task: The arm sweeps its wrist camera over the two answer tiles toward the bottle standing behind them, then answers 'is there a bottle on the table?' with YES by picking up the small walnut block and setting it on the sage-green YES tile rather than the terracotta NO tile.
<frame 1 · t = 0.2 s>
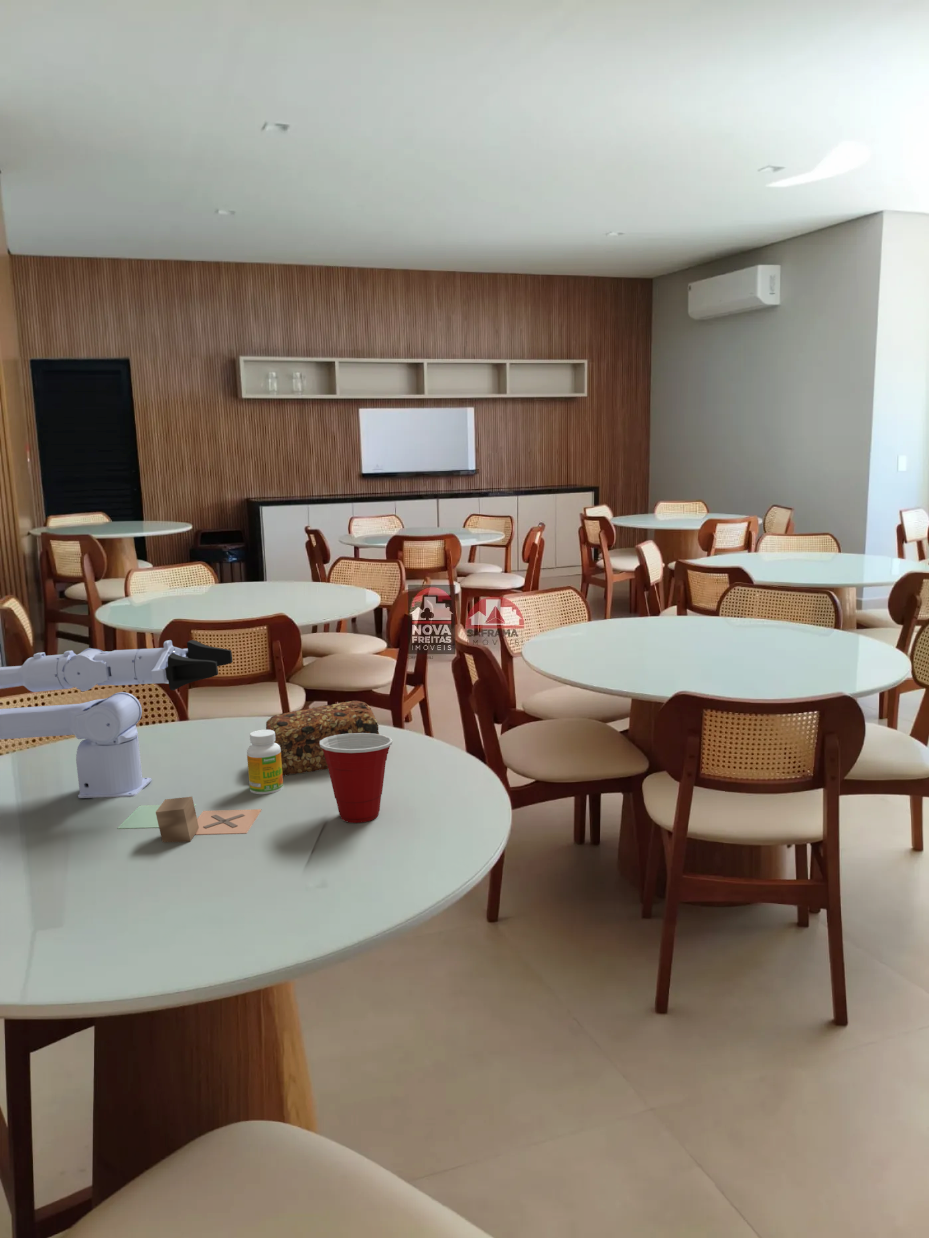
hand: (224, 662, 147), 21 cm above the table, tool horizontal, fingers open, 7 cm apart
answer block: (181, 835, 131), on the table, tilted 7°, touching no tile
plastic cup: (360, 816, 137), on the table
supplement bottle: (266, 791, 149), on the table
no tile: (224, 823, 136), on the table
yes tile: (158, 818, 139), on the table
bread: (324, 763, 163), on the table
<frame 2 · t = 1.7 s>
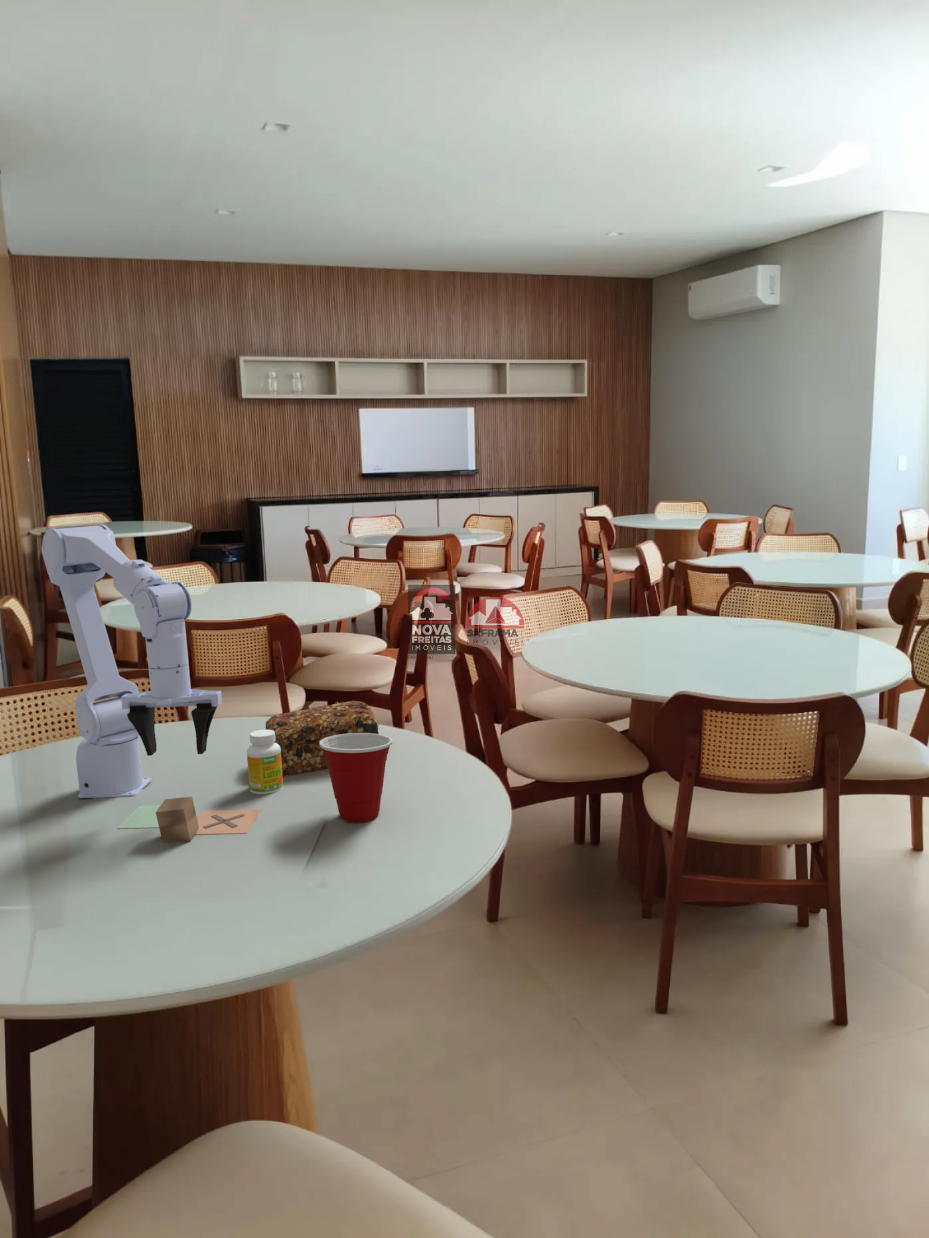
hand: (176, 752, 138), 10 cm above the table, tool pointing down, fingers open, 7 cm apart
nothing on the table moved.
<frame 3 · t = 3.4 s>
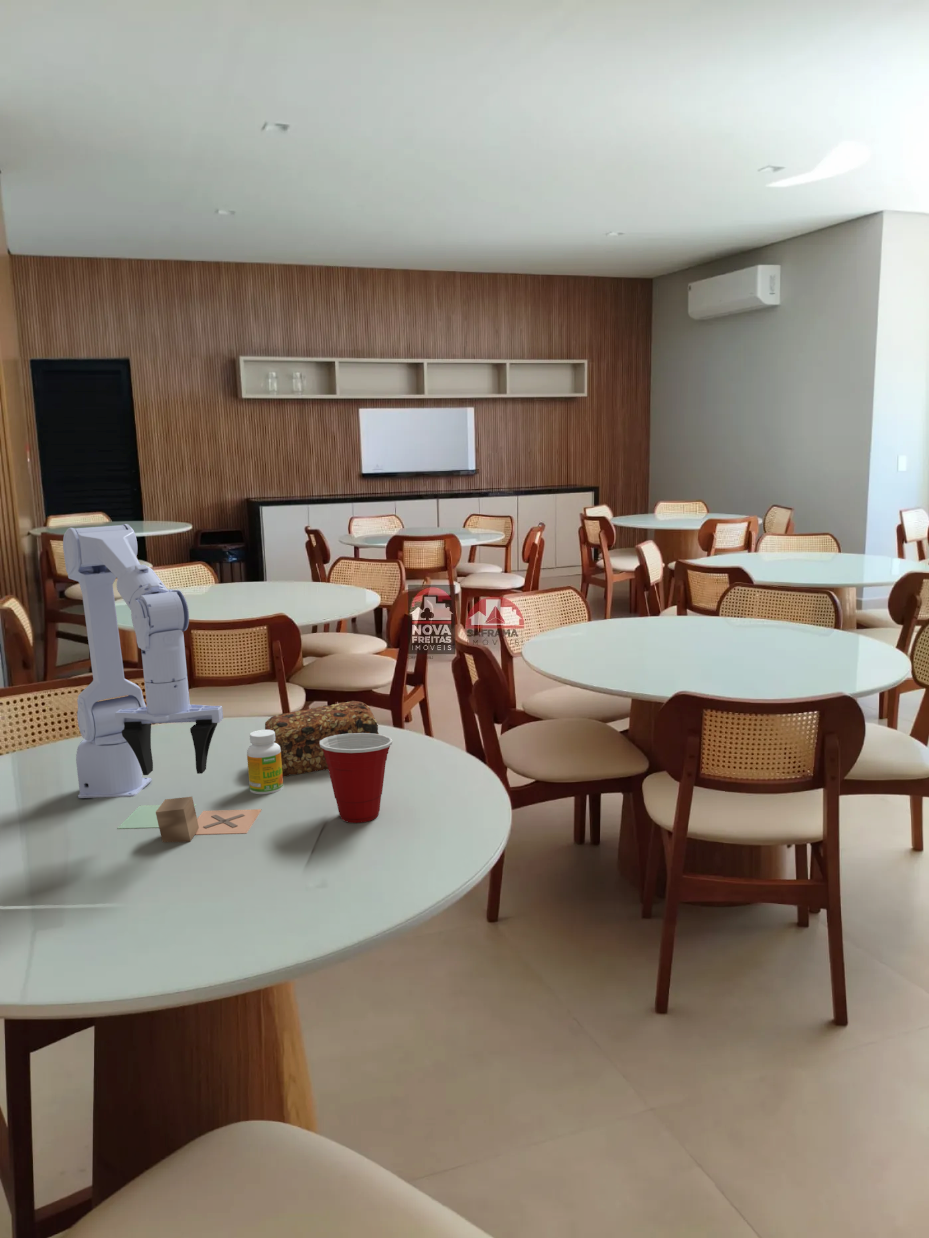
hand: (174, 772, 129), 10 cm above the table, tool pointing down, fingers open, 7 cm apart
nothing on the table moved.
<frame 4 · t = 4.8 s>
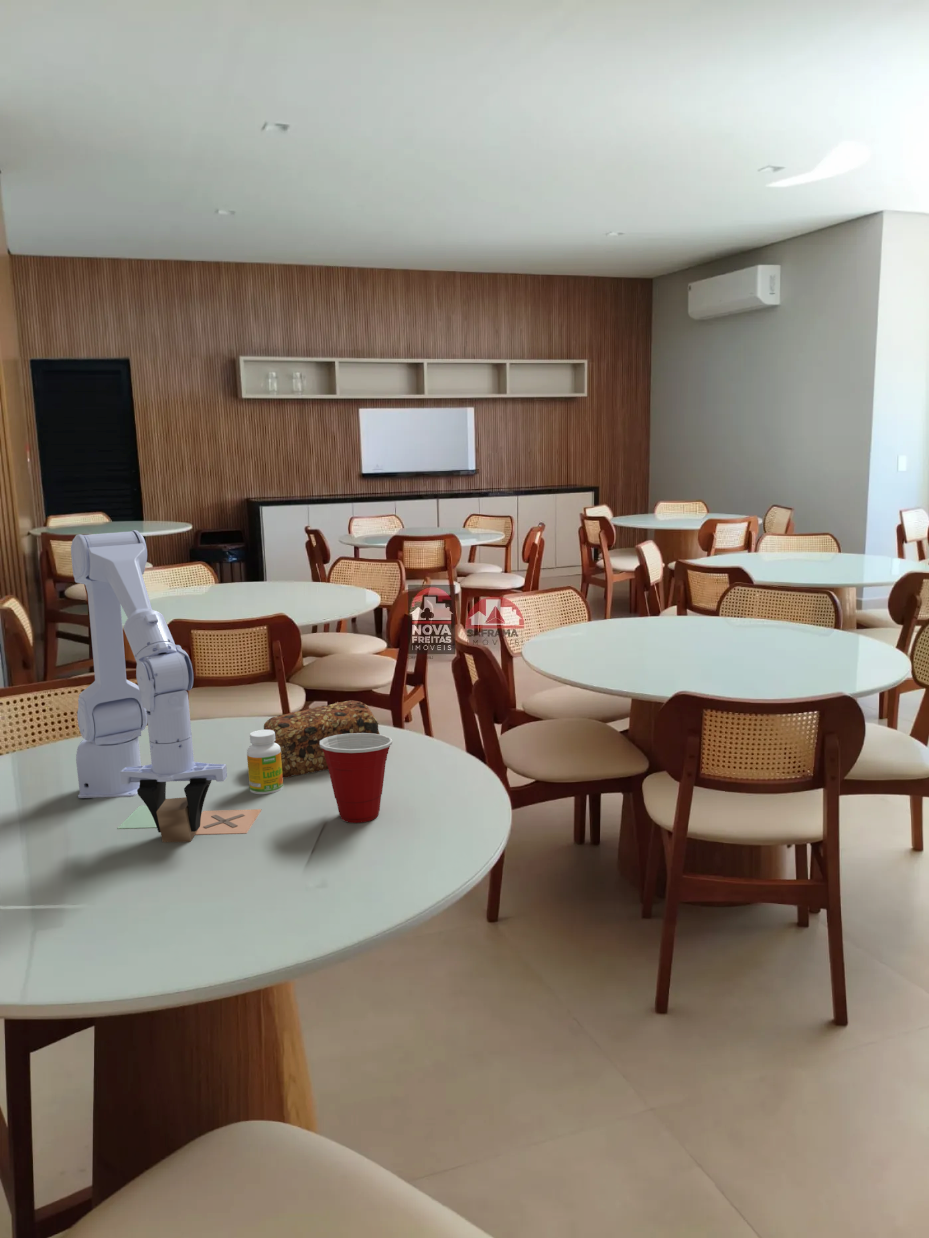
hand: (179, 829, 131), 1 cm above the table, tool pointing down, fingers closed on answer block, 4 cm apart
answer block: (181, 835, 131), on the table, tilted 6°, touching gripper, no tile
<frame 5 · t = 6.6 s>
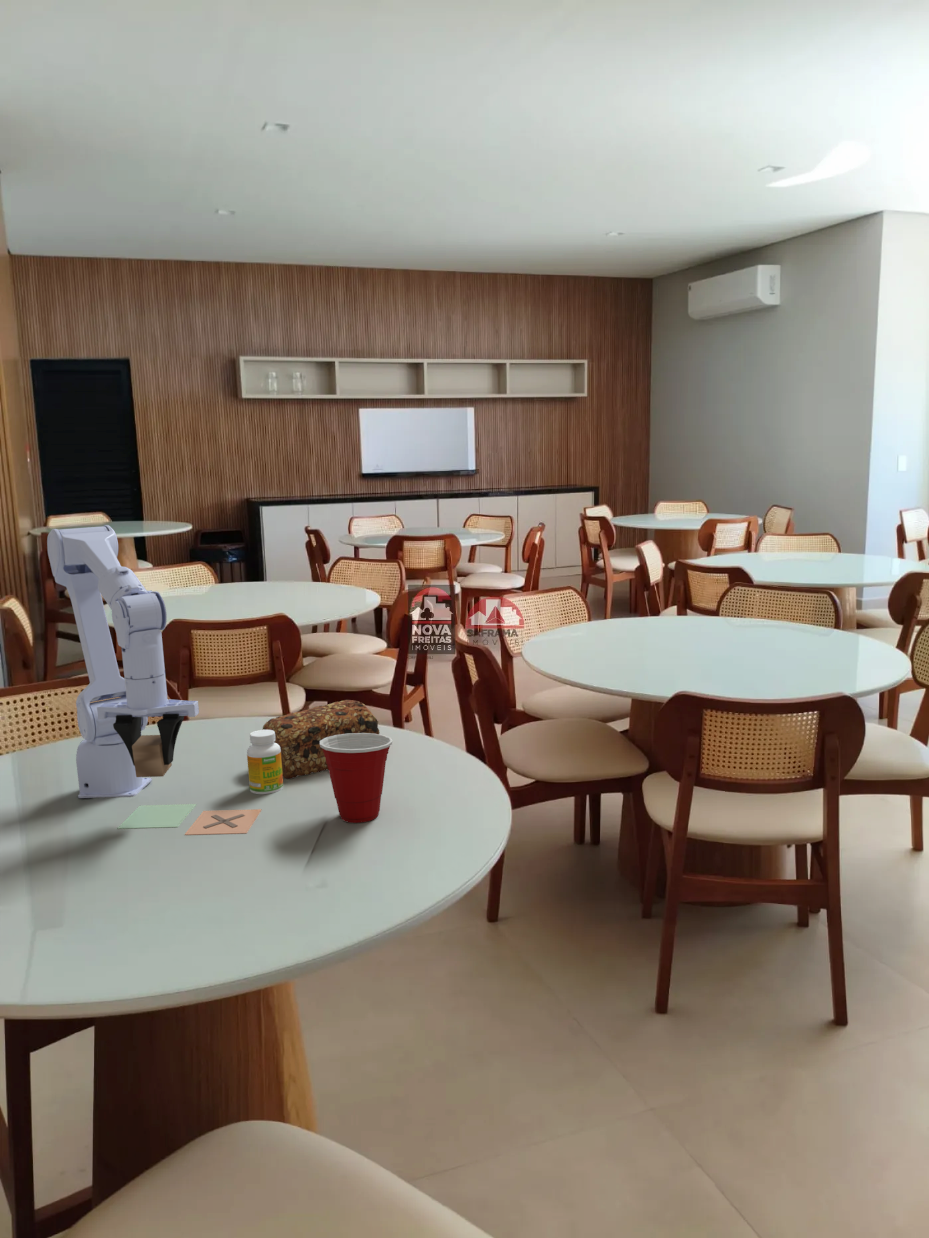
hand: (153, 763, 137), 9 cm above the table, tool pointing down, fingers closed on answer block, 4 cm apart
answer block: (154, 771, 137), point 8 cm above the table, tilted 6°, touching gripper
when the fingers open (3 cm above the table, at t = 8.2 s): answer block drops 1 cm, resting on yes tile.
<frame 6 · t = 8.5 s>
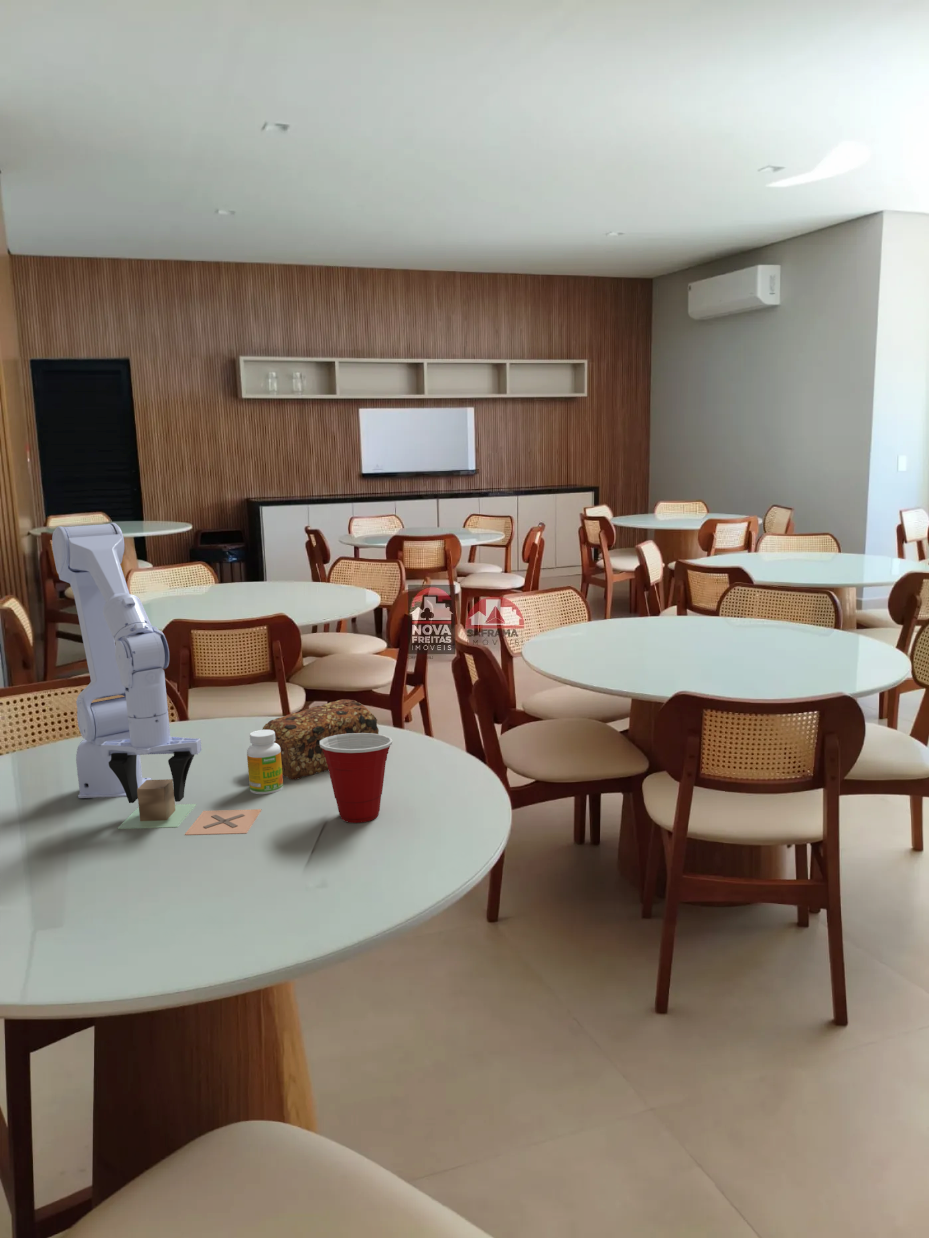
hand: (156, 799, 138), 3 cm above the table, tool pointing down, fingers open, 6 cm apart
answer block: (158, 815, 139), resting on yes tile
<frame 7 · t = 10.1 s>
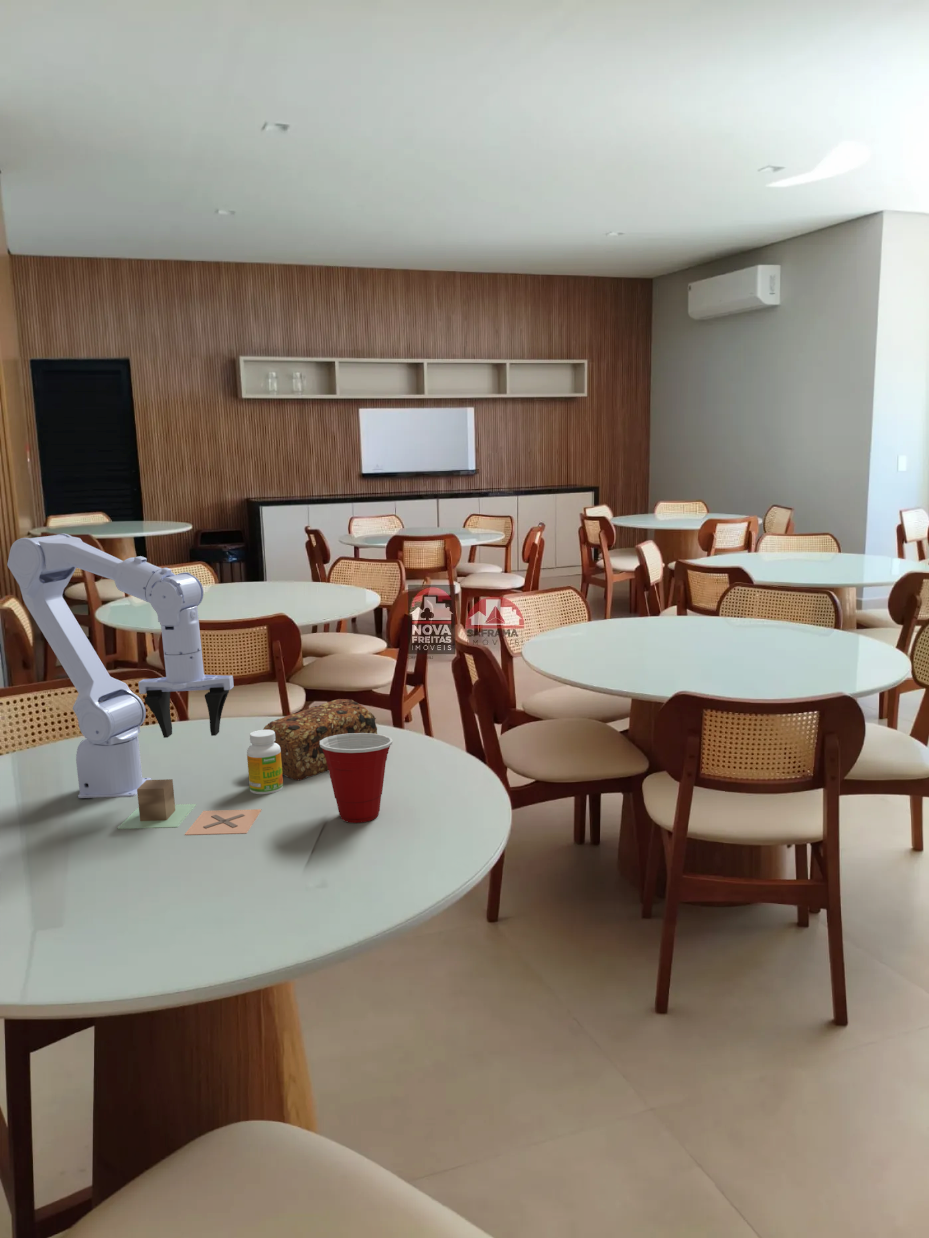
hand: (191, 734, 145), 10 cm above the table, tool pointing down, fingers open, 7 cm apart
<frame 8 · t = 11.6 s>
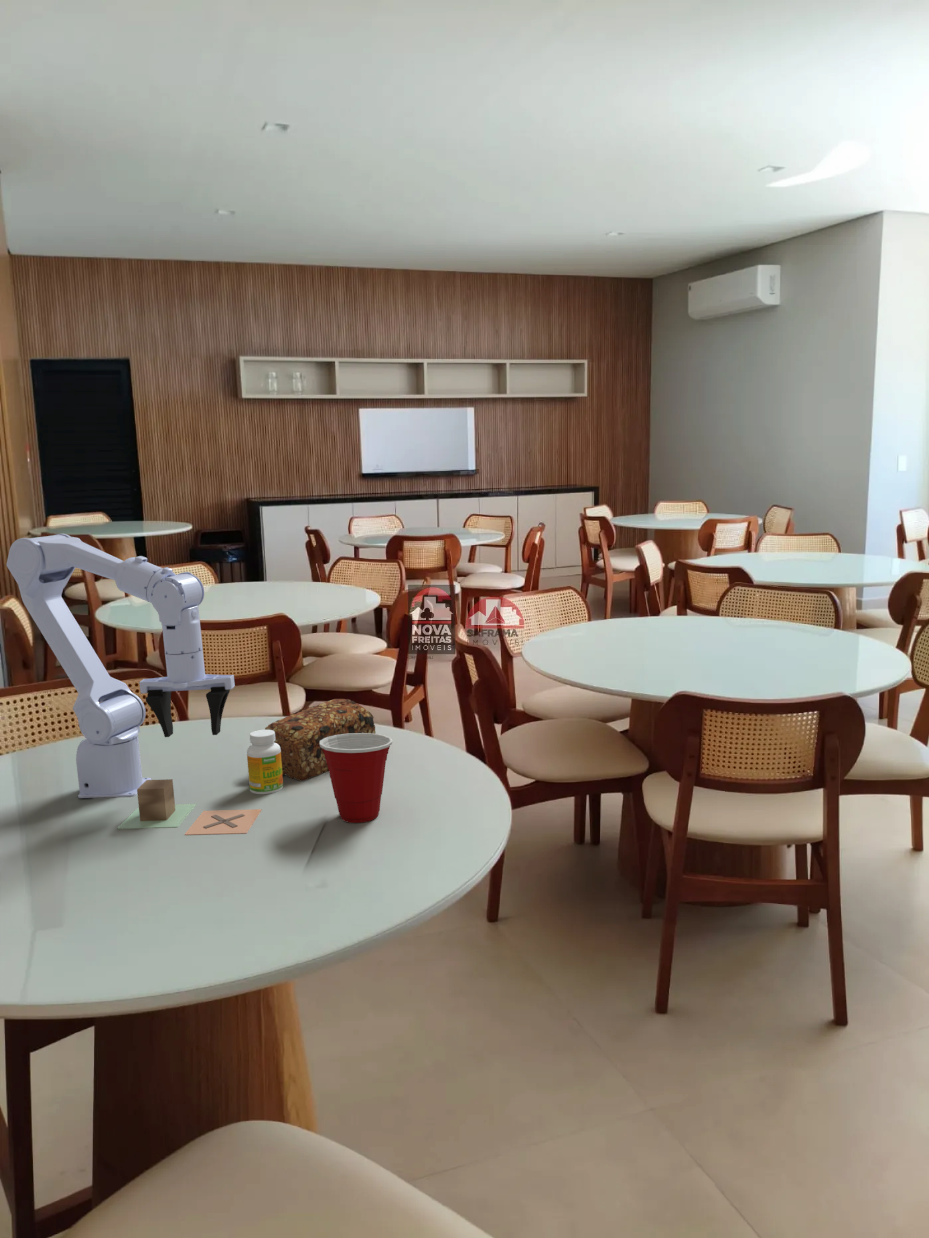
hand: (192, 734, 146), 10 cm above the table, tool pointing down, fingers open, 7 cm apart
at the end: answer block inside the target area on the yes tile (0.0 cm from its centre), point 0.4 cm above the yes tile's base; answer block tilted 0°; the gripper is holding nothing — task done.
